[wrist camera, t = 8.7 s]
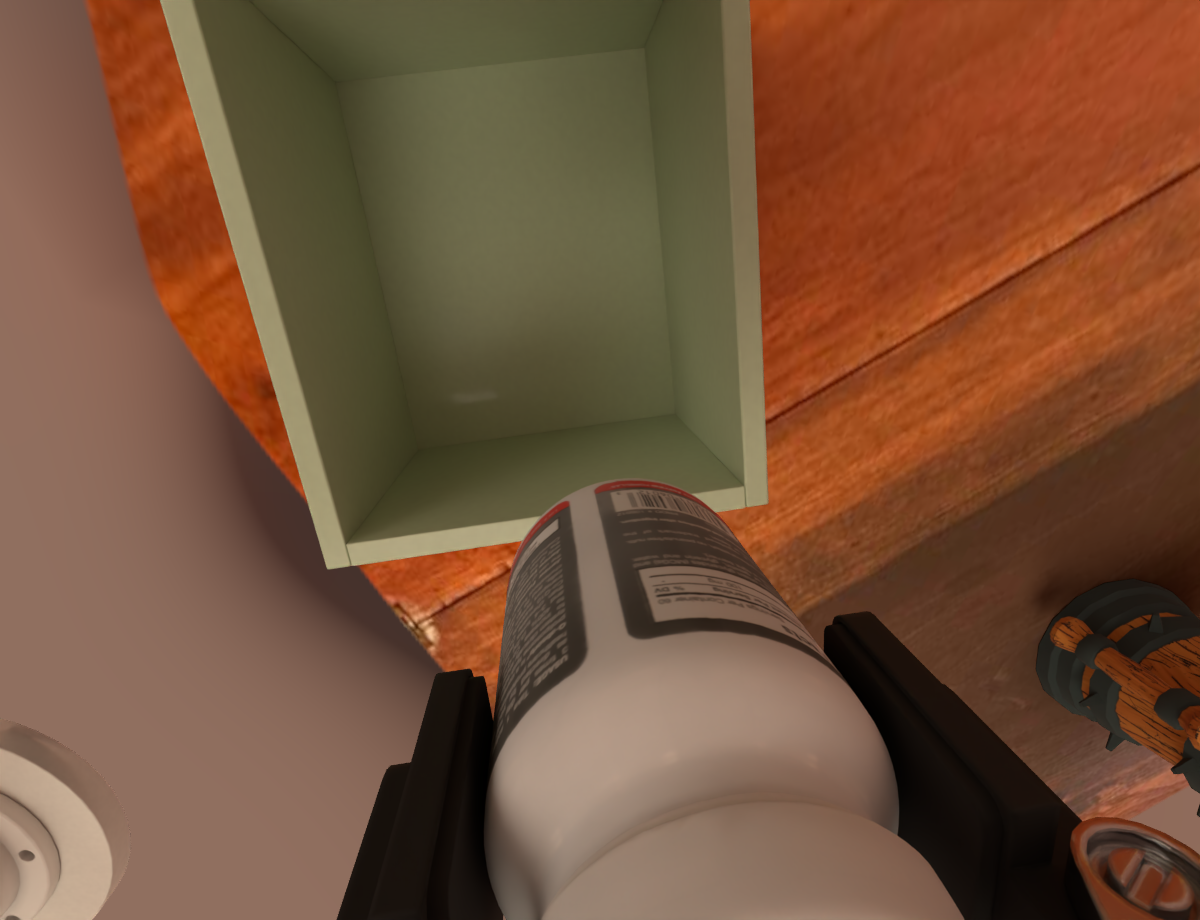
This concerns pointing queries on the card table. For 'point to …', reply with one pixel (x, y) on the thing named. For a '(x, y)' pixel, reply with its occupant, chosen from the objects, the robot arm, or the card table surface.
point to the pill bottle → (680, 735)
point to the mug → (1130, 669)
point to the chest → (490, 251)
